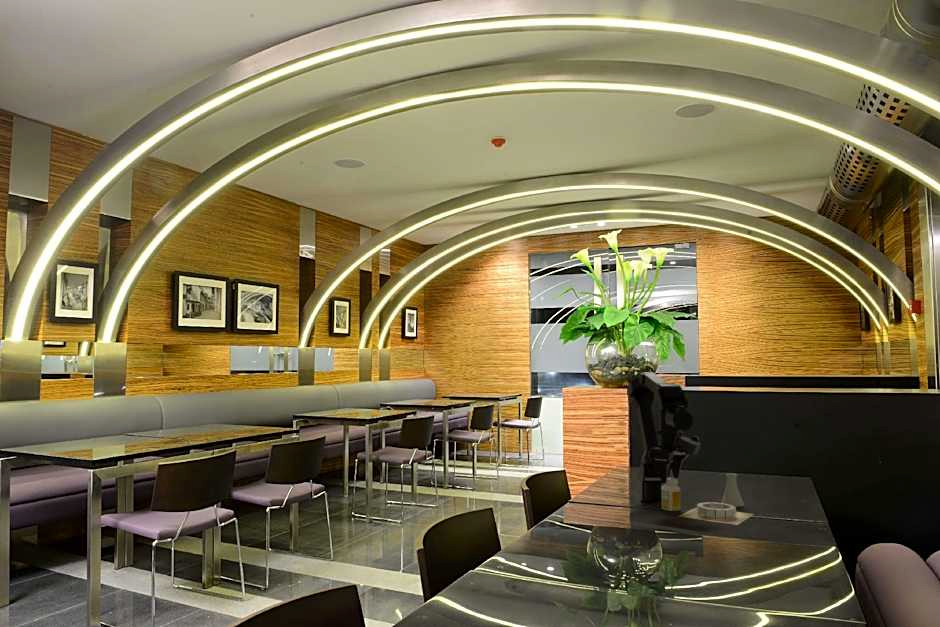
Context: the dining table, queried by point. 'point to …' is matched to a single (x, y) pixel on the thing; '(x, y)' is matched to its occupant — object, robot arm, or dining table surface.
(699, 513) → the steel ring collar
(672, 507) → the supplement bottle
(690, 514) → the birch base plate
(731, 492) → the flask
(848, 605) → the dining table surface
